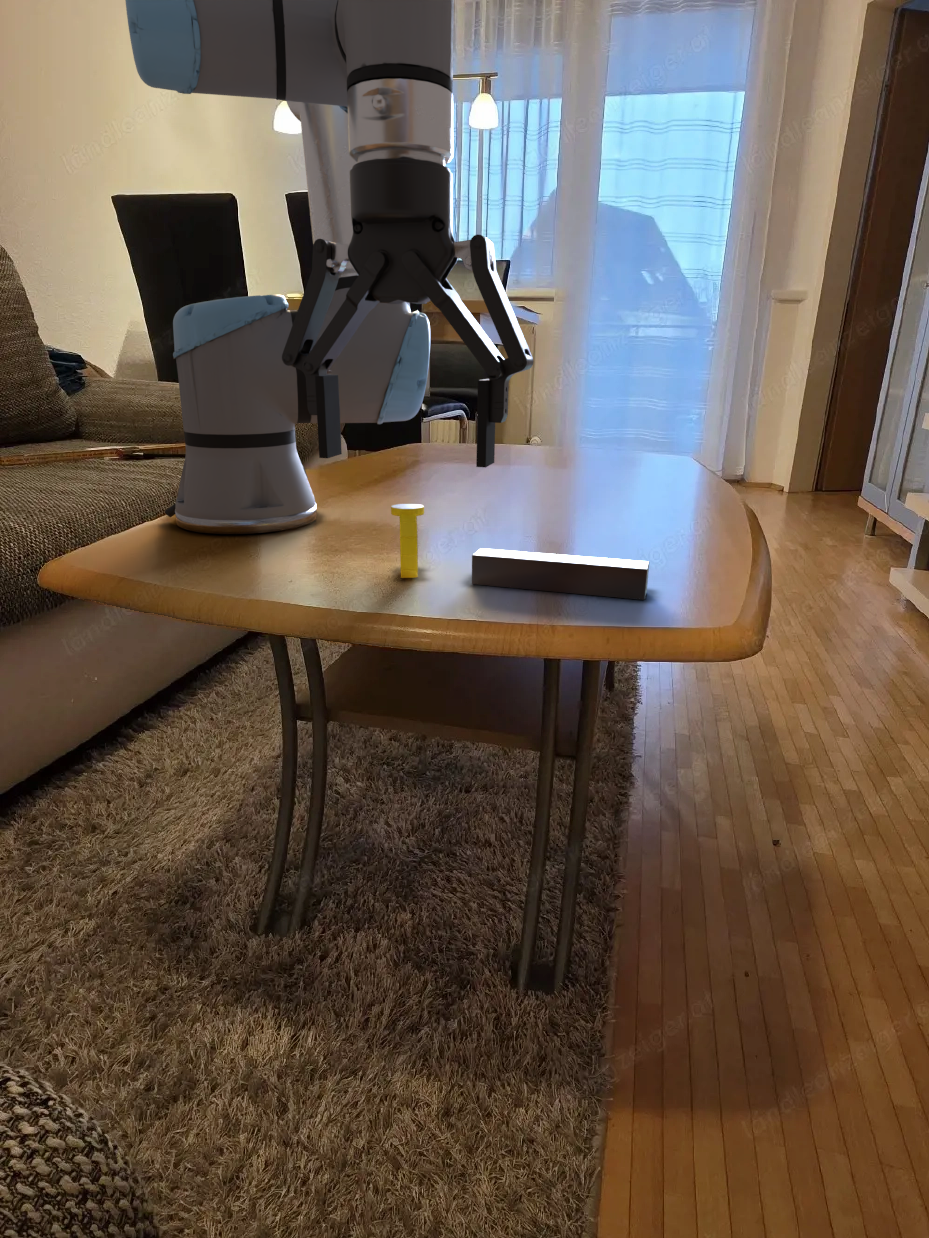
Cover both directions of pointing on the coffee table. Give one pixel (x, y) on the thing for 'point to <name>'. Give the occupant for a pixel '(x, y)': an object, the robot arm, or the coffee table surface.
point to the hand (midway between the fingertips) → (405, 460)
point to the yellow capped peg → (408, 537)
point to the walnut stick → (561, 573)
